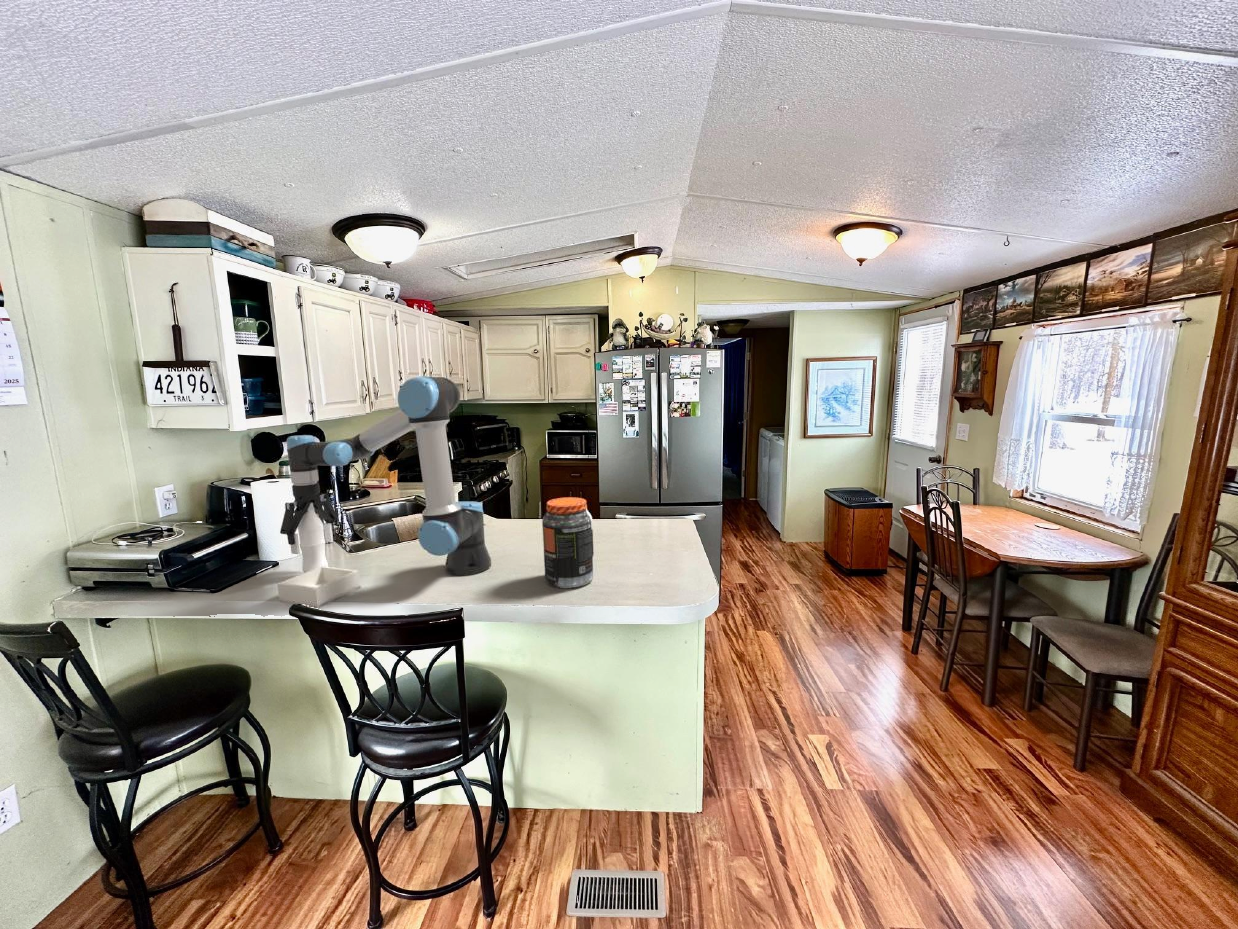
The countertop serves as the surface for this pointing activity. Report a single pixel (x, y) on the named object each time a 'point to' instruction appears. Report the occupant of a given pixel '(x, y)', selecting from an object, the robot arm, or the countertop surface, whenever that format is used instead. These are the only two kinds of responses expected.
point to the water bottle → (312, 540)
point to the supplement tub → (568, 543)
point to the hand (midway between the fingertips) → (313, 547)
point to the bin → (319, 586)
